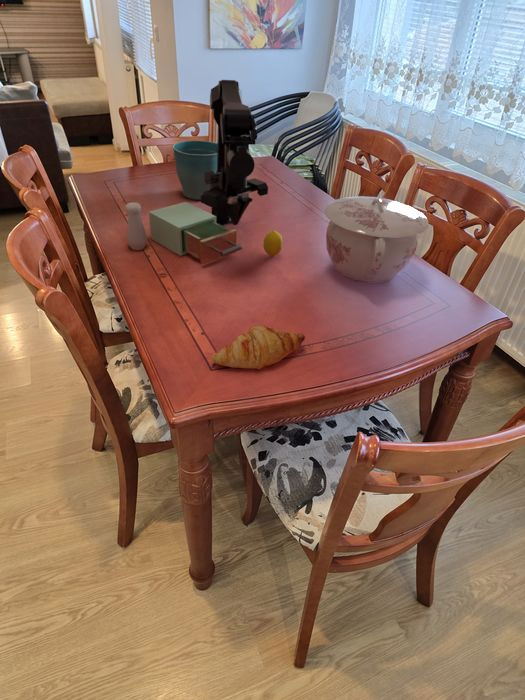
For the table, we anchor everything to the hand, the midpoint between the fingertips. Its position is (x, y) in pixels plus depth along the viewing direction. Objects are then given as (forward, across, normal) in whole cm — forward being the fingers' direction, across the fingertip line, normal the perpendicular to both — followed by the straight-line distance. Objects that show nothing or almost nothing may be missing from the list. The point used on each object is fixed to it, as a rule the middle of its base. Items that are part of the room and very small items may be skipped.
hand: (234, 224), depth 125 cm
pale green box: (+12, +2, -20) cm, 24 cm away
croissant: (+12, +24, +34) cm, 43 cm away
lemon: (+12, -12, +3) cm, 17 cm away
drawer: (+11, +2, -8) cm, 14 cm away
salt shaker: (+12, +15, -25) cm, 32 cm away
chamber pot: (+12, -26, +26) cm, 39 cm away
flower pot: (+12, -27, -49) cm, 57 cm away
